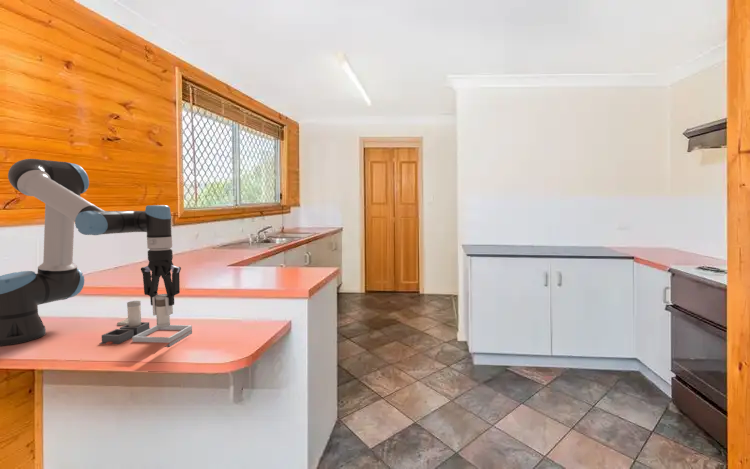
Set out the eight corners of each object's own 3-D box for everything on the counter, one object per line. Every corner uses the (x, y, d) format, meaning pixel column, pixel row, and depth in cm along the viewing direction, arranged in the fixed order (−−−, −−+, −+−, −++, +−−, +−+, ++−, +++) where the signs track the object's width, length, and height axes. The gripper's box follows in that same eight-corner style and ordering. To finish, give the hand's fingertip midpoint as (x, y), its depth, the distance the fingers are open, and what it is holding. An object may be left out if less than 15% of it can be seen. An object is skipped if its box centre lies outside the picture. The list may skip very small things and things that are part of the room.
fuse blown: (154, 327, 126) (152, 296, 126) (161, 323, 130) (160, 293, 130) (165, 327, 126) (163, 296, 125) (172, 323, 130) (171, 293, 129)
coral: (114, 330, 139) (113, 319, 138) (123, 322, 149) (123, 311, 148) (131, 328, 140) (130, 317, 140) (139, 320, 150) (139, 310, 150)
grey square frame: (132, 345, 123) (132, 336, 122) (158, 332, 136) (158, 324, 135) (169, 346, 122) (169, 338, 121) (192, 333, 135) (191, 325, 135)
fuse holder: (98, 348, 120) (97, 336, 120) (134, 331, 137) (133, 321, 136) (118, 348, 120) (117, 337, 120) (151, 332, 136) (151, 321, 136)
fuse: (125, 333, 131) (124, 303, 130) (134, 329, 135) (132, 300, 134) (136, 333, 130) (135, 303, 129) (144, 329, 134) (143, 300, 134)
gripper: (128, 250, 123) (132, 317, 125) (176, 250, 122) (179, 318, 124) (144, 247, 131) (147, 311, 132) (189, 248, 129) (192, 311, 131)
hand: (163, 314), depth 128 cm, fingers closed on fuse blown, 4 cm apart
